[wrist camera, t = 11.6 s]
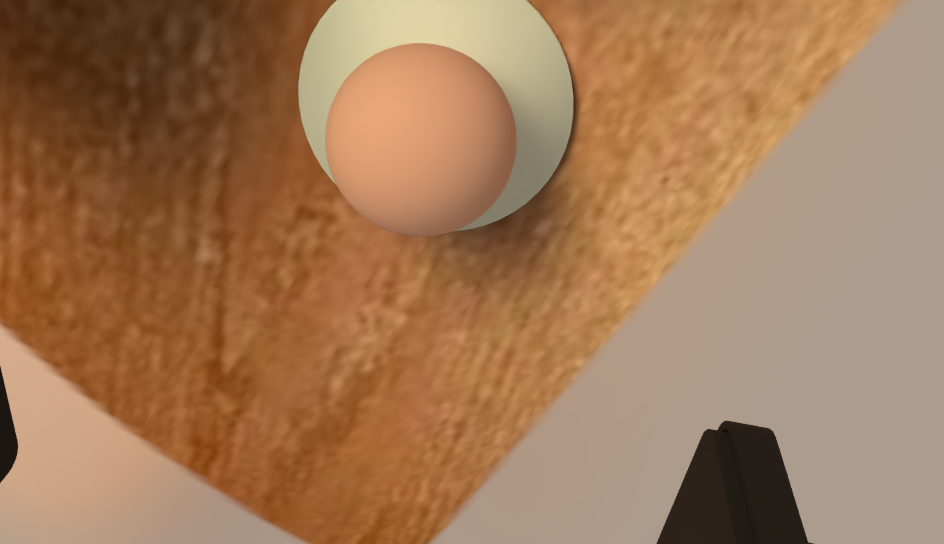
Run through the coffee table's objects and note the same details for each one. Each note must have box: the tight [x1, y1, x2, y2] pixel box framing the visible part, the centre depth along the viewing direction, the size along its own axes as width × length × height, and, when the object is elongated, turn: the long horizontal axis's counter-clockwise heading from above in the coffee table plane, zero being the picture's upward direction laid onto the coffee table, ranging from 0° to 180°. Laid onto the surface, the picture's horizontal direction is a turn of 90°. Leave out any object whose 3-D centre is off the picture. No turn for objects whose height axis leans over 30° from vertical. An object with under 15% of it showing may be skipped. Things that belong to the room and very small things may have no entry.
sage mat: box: [298, 0, 573, 231], centre depth 23 cm, size 8×8×1 cm
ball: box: [325, 43, 517, 237], centre depth 21 cm, size 5×5×5 cm
